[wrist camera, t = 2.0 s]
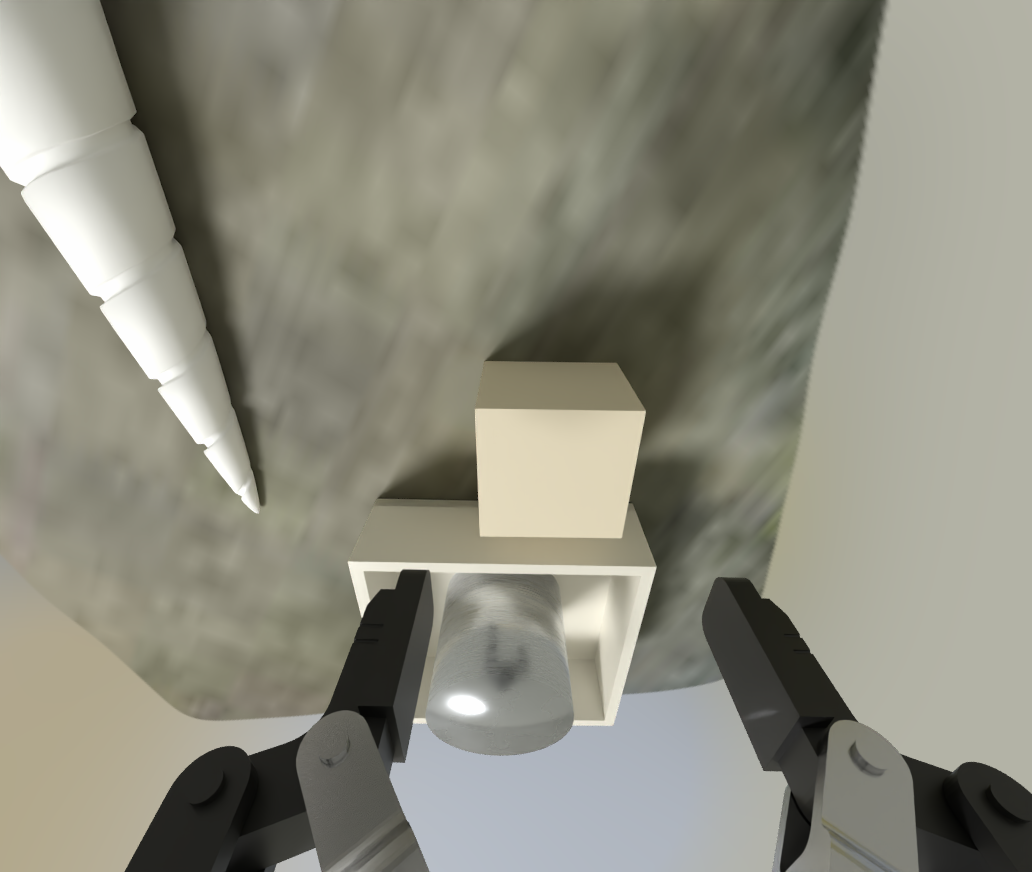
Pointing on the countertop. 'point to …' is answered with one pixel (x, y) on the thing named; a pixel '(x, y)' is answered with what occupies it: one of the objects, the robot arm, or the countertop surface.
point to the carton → (555, 449)
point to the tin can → (501, 665)
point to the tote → (572, 561)
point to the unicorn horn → (111, 209)
